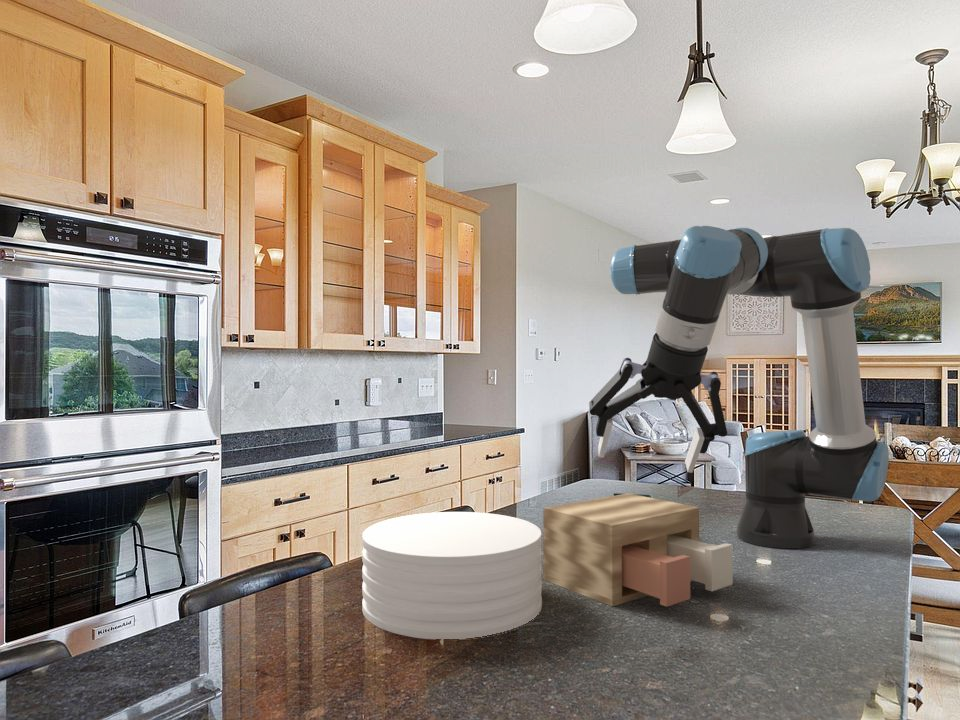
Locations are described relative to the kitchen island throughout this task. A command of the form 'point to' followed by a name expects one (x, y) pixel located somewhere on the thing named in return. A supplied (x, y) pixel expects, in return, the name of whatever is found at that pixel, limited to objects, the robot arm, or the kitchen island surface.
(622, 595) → the wooden box
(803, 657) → the kitchen island surface
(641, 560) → the rust plug
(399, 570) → the plate stack
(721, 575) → the cream plug
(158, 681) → the kitchen island surface
